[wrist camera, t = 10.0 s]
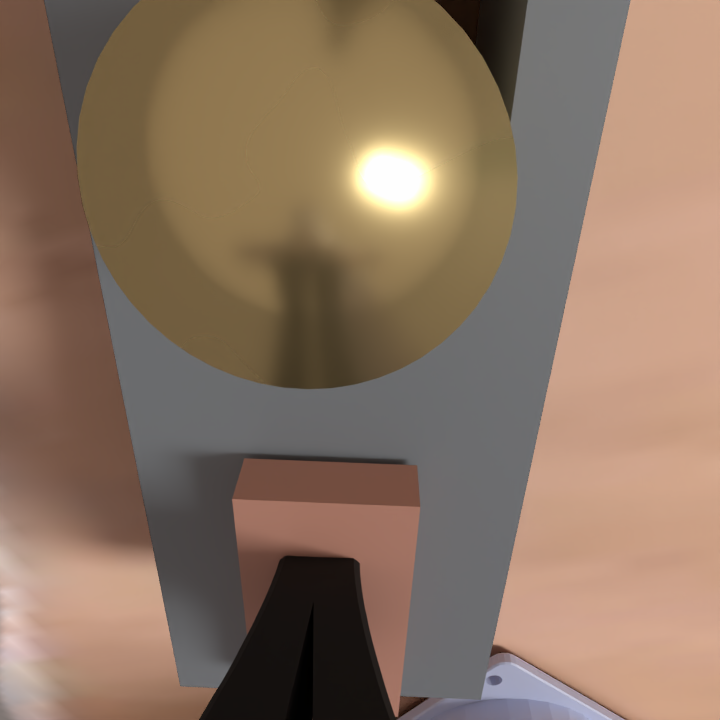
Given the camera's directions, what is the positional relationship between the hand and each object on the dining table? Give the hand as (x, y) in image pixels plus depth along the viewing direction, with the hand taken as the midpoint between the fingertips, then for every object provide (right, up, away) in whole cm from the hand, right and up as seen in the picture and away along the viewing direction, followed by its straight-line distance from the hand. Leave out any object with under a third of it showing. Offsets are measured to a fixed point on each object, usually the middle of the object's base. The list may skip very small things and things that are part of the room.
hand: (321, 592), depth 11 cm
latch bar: (0, 0, +1) cm, 1 cm away
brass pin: (0, +9, +1) cm, 9 cm away
